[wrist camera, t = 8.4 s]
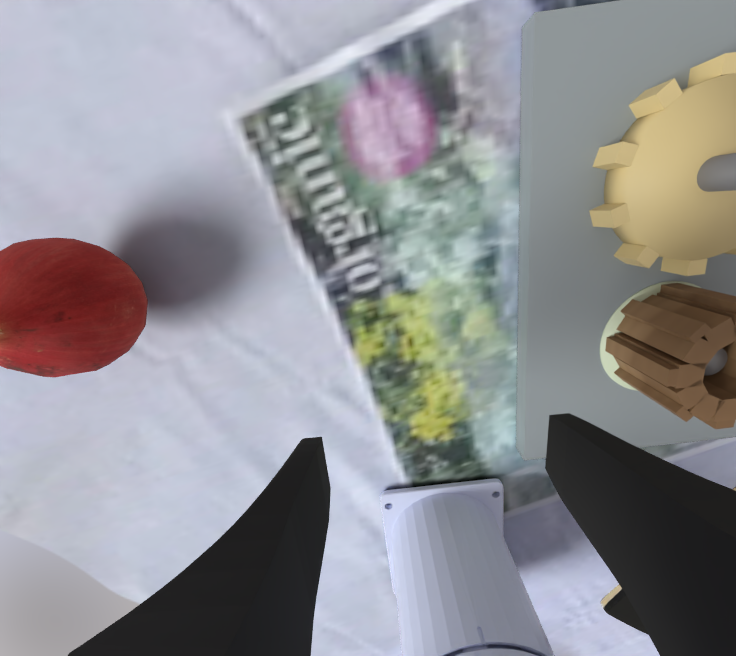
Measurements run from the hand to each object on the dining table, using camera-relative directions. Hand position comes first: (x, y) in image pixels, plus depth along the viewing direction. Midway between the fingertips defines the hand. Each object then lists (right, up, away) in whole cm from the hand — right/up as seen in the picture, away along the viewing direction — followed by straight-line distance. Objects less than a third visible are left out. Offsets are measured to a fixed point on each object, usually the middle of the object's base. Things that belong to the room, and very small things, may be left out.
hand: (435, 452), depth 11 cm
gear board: (+13, +7, +7) cm, 17 cm away
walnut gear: (+13, +3, +7) cm, 16 cm away
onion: (-15, +6, +8) cm, 18 cm away
